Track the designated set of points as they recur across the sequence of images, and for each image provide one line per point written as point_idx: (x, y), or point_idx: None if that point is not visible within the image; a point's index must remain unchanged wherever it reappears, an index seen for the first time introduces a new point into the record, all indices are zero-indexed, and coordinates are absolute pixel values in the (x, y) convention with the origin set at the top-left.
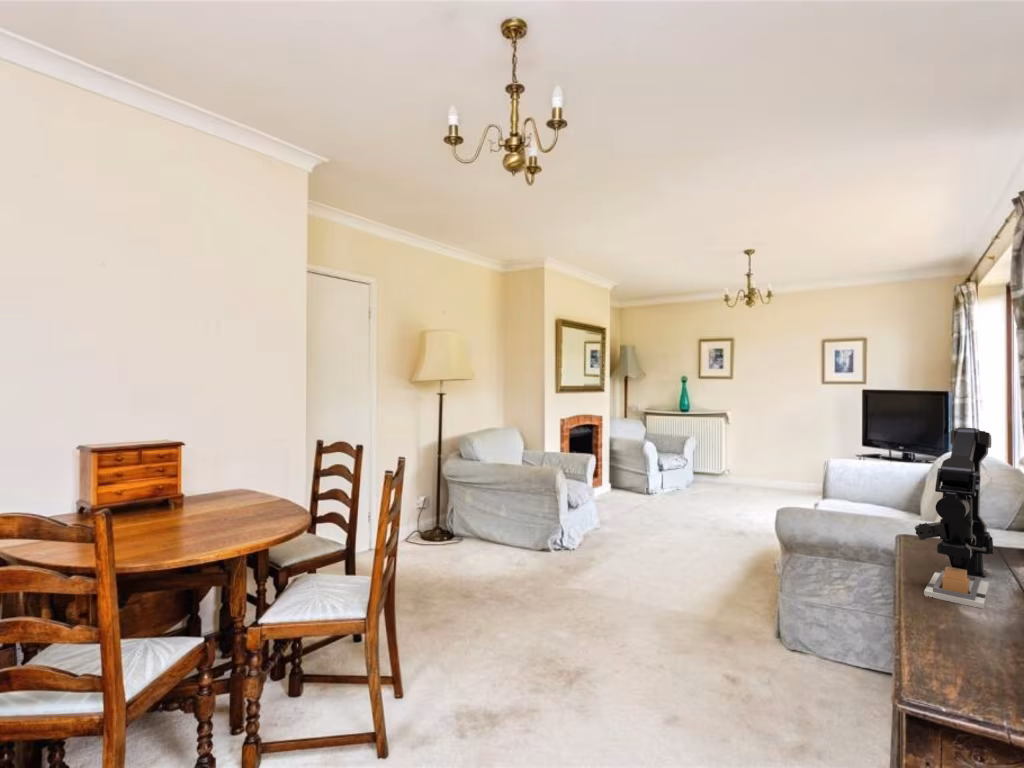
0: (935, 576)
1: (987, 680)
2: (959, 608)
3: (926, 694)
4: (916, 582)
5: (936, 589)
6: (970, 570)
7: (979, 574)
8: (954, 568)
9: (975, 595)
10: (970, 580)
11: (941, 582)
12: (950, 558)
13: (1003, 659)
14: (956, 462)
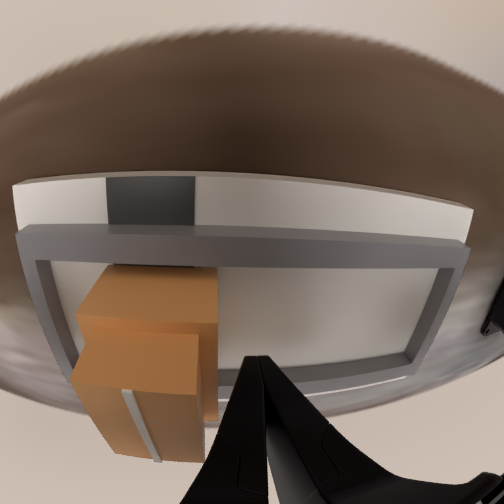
0: (408, 210)
1: None
2: (9, 309)
3: None
4: (290, 99)
5: (20, 249)
6: (501, 313)
7: (489, 325)
8: (162, 429)
9: None
10: (409, 339)
11: (187, 264)
12: (190, 496)
13: None
14: None
